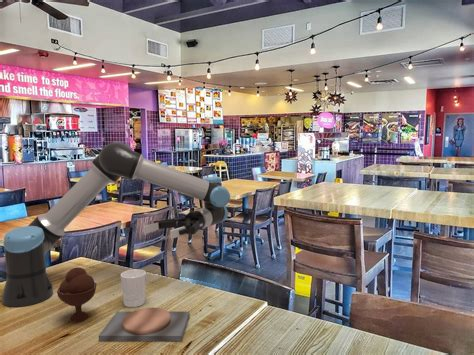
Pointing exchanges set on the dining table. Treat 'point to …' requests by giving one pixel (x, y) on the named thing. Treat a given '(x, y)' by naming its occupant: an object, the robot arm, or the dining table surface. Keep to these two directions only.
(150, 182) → the robot arm
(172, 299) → the dining table surface
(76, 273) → the ice cream bowl
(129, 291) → the white cup
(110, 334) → the serving stand
